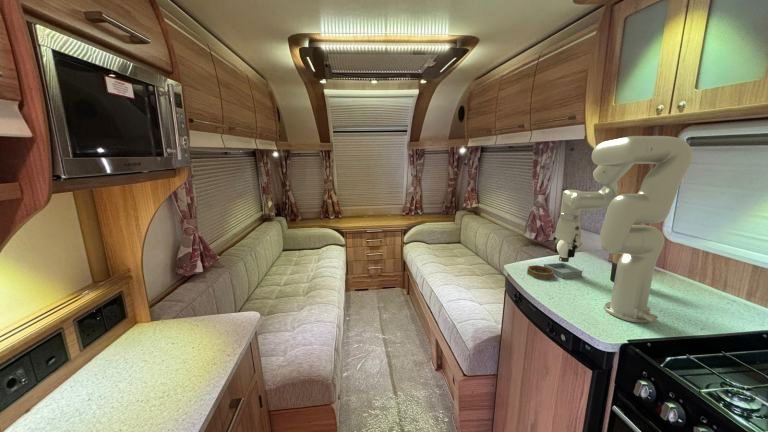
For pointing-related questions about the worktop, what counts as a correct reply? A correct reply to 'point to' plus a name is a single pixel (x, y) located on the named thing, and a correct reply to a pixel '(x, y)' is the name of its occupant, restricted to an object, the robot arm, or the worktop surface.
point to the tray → (564, 270)
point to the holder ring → (540, 275)
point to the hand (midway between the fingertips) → (564, 254)
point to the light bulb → (563, 250)
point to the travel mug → (614, 266)
